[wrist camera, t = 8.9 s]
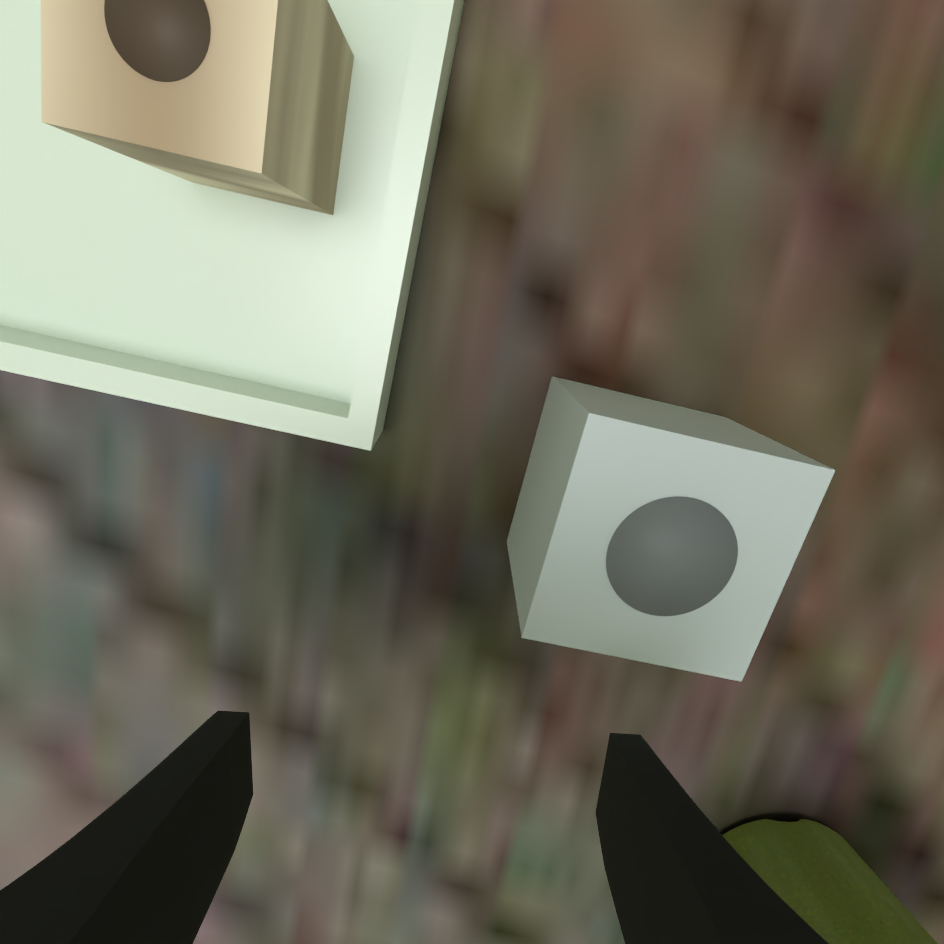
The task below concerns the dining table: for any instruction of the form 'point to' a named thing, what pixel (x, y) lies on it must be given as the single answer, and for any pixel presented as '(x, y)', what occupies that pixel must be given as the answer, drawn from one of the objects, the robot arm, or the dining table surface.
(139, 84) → the small block
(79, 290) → the tray
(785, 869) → the plant pot
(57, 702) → the dining table surface
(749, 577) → the large block
